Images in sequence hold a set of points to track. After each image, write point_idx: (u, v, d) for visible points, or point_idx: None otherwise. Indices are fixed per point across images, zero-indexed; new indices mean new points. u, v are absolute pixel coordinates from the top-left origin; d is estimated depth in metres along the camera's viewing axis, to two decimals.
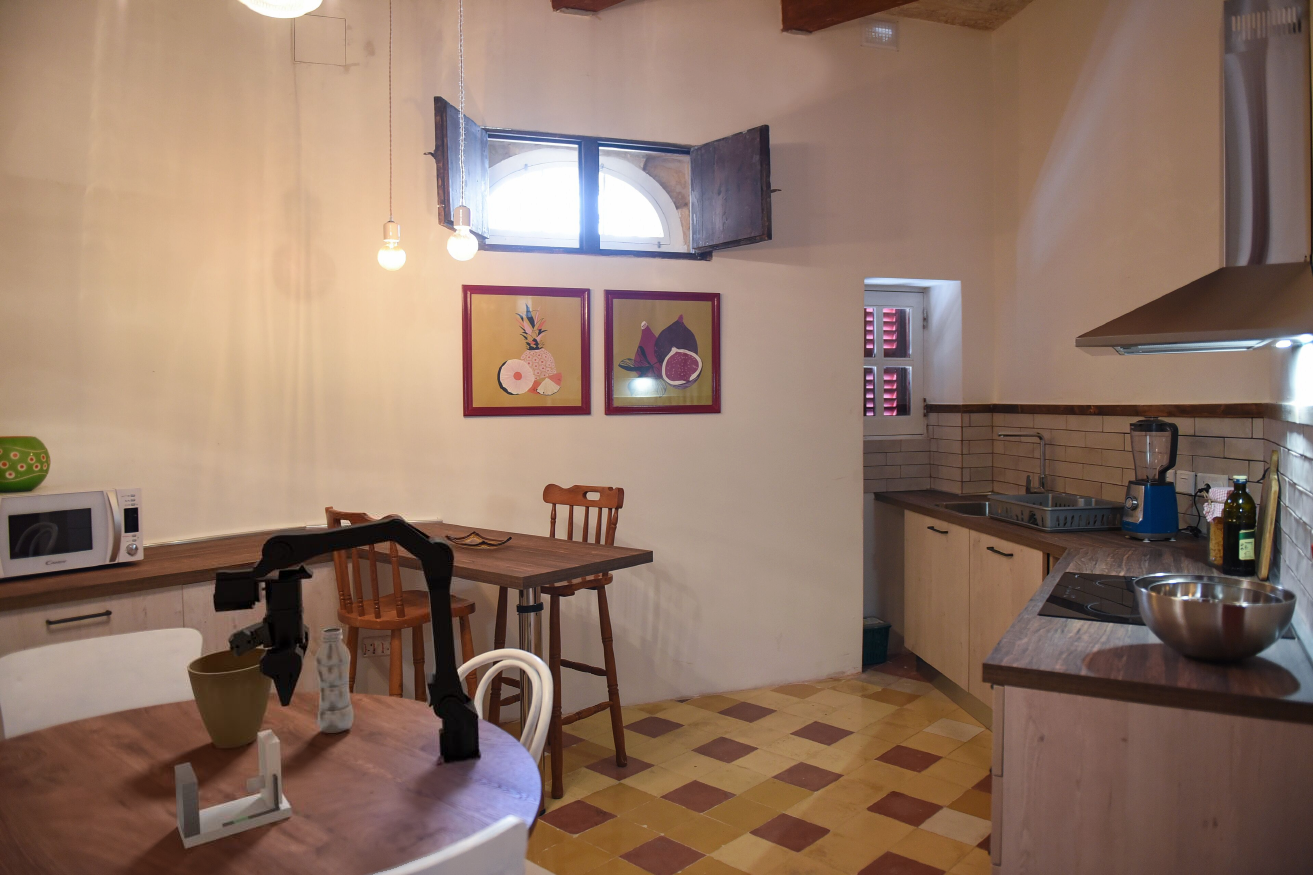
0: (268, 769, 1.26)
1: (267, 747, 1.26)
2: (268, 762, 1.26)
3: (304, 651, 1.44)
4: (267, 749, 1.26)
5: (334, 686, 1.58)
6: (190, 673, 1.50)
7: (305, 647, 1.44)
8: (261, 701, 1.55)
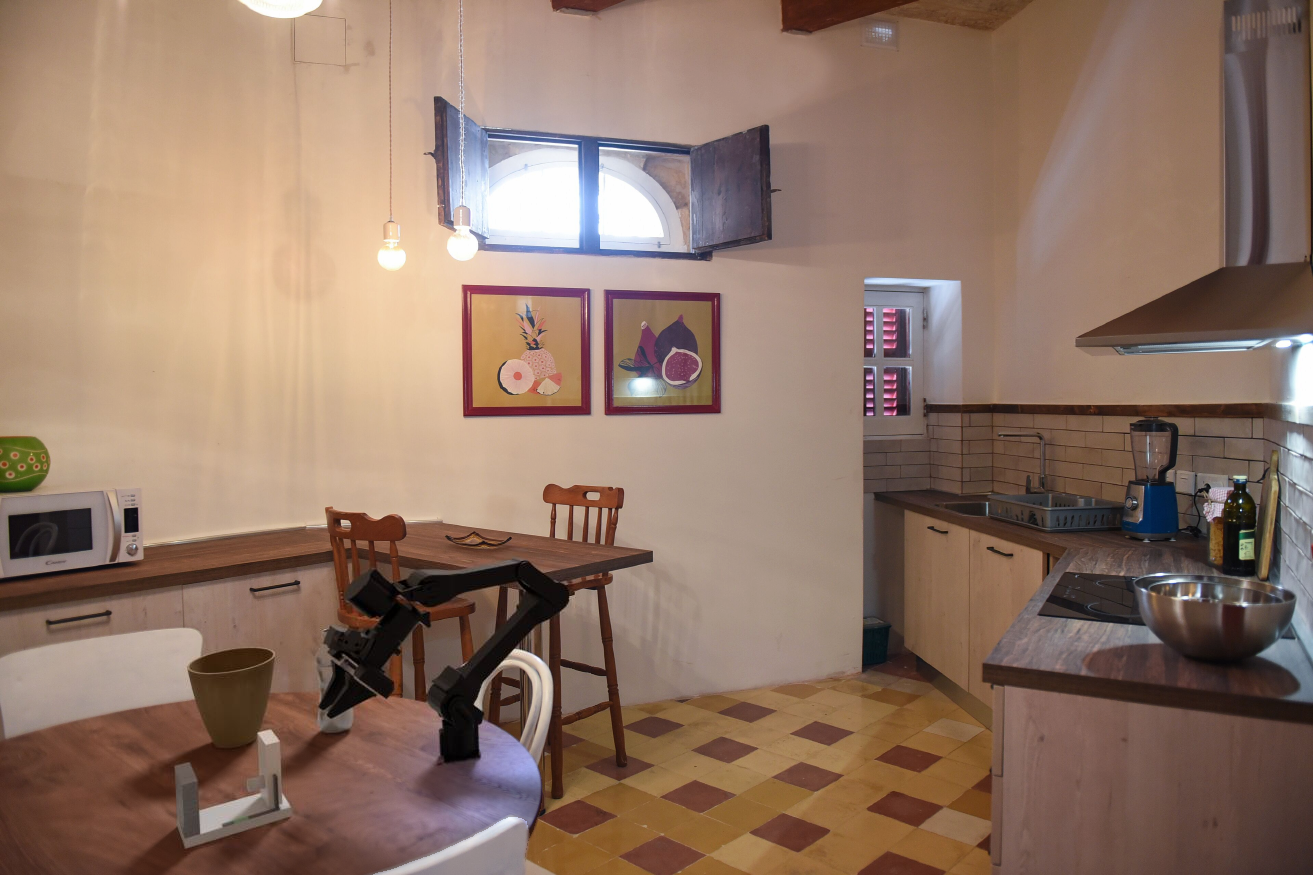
0: (268, 769, 1.26)
1: (267, 747, 1.26)
2: (268, 762, 1.26)
3: None
4: (267, 749, 1.26)
5: None
6: (190, 673, 1.50)
7: None
8: (261, 701, 1.55)
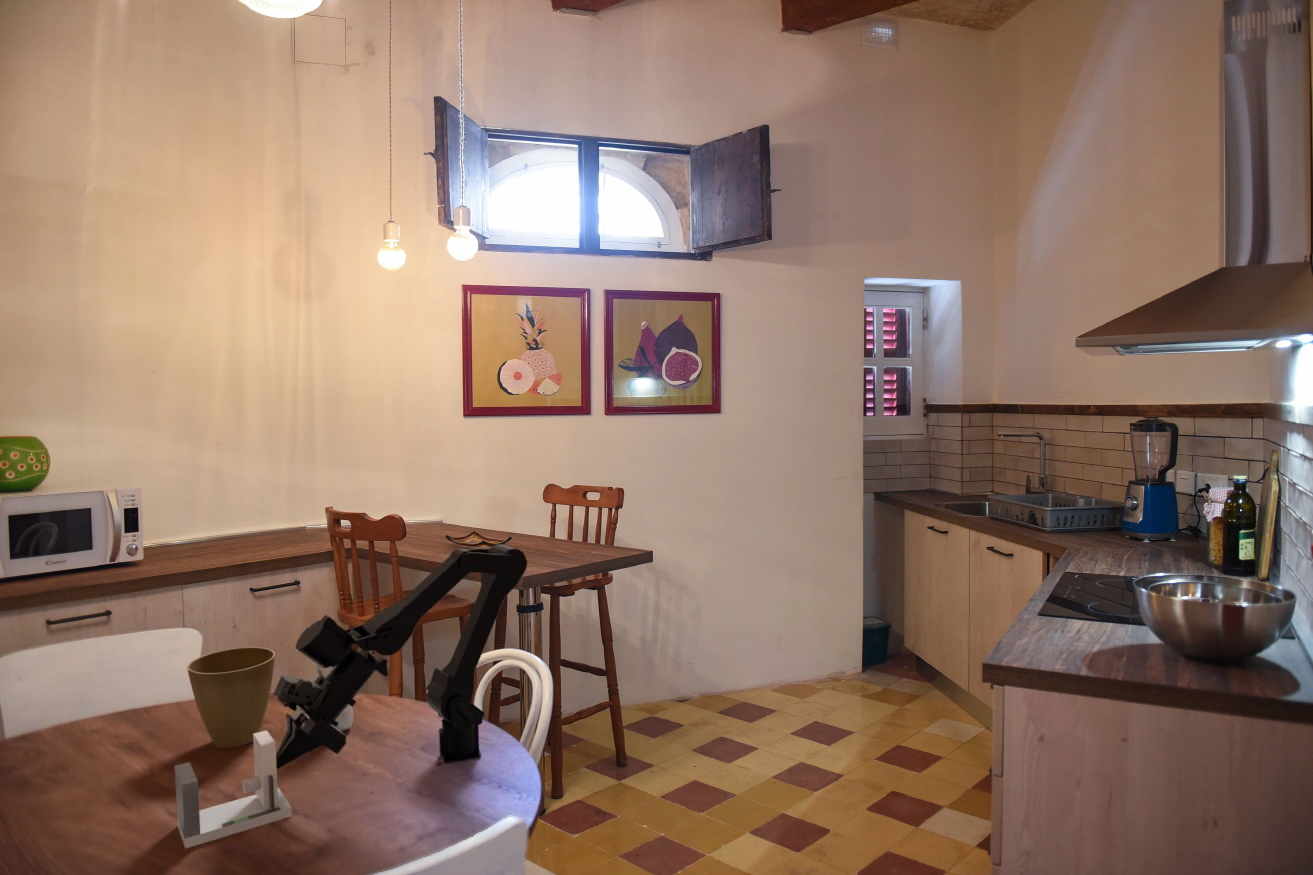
0: (264, 770, 1.26)
1: (263, 748, 1.26)
2: (263, 763, 1.26)
3: None
4: (263, 750, 1.26)
5: None
6: (190, 673, 1.50)
7: None
8: (261, 701, 1.55)
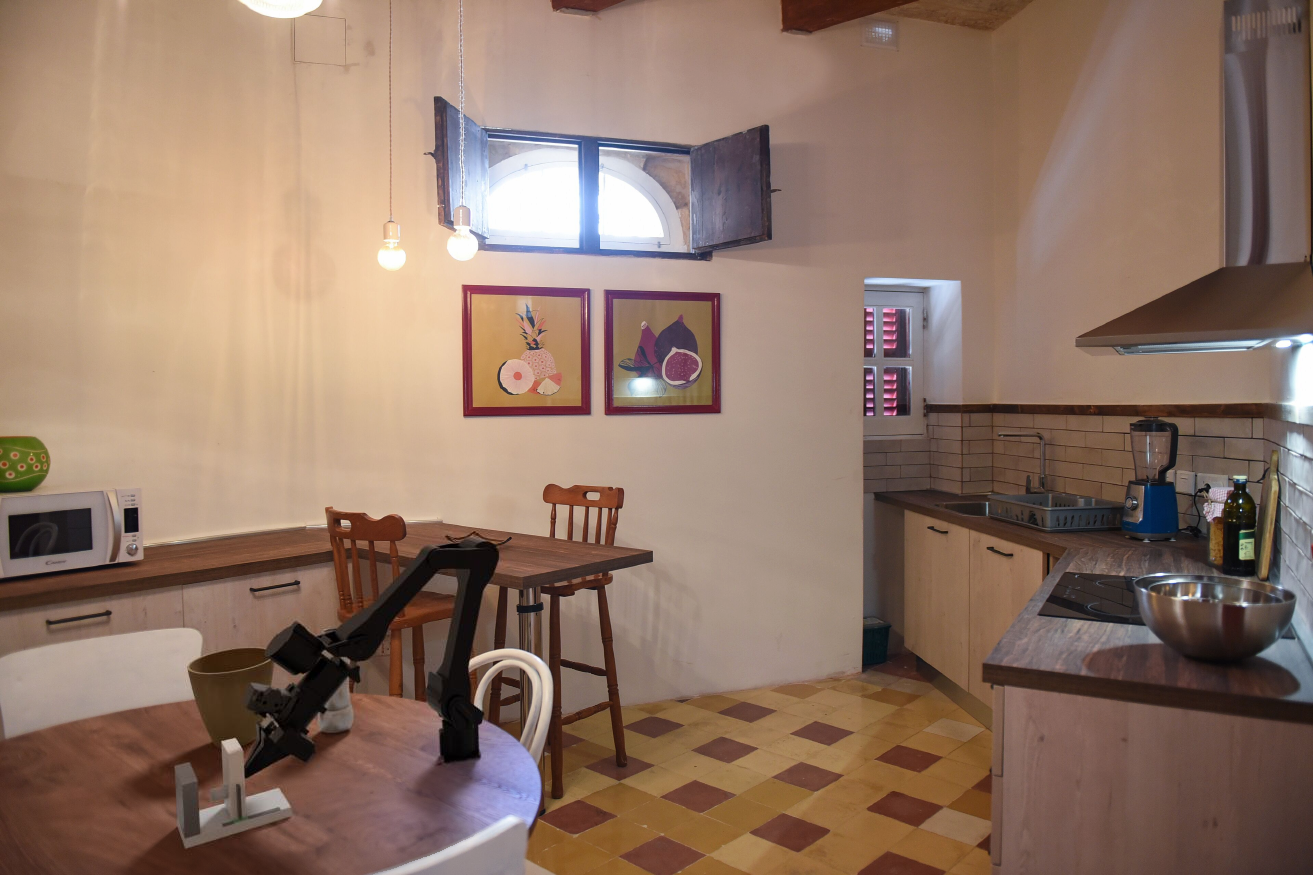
0: (231, 779, 1.23)
1: (230, 756, 1.23)
2: (231, 772, 1.23)
3: None
4: (230, 758, 1.23)
5: None
6: (190, 673, 1.50)
7: None
8: None
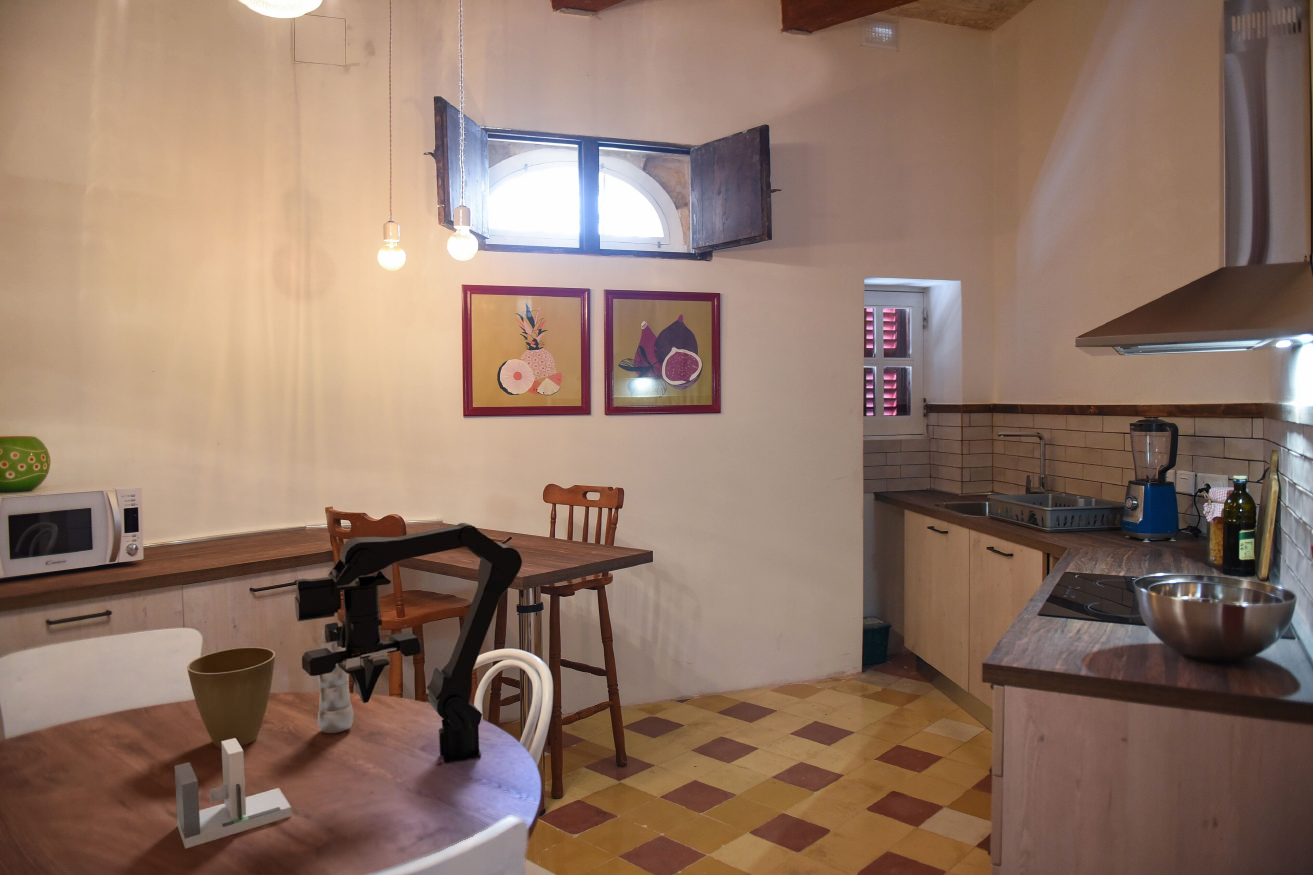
0: (231, 779, 1.23)
1: (230, 756, 1.23)
2: (231, 772, 1.23)
3: (372, 670, 1.38)
4: (230, 759, 1.23)
5: (334, 686, 1.58)
6: (190, 673, 1.50)
7: (373, 666, 1.38)
8: (261, 701, 1.55)
